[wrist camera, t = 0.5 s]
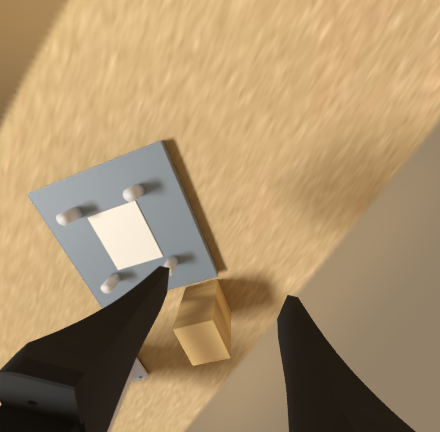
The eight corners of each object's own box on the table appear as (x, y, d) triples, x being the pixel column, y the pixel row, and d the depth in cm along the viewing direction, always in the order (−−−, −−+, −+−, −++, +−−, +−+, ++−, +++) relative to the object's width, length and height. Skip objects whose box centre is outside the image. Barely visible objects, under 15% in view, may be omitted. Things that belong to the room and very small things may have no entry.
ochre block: (201, 318, 27) (192, 365, 21) (185, 287, 26) (172, 329, 20) (231, 311, 26) (230, 358, 21) (217, 278, 25) (212, 319, 19)
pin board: (106, 301, 27) (91, 321, 24) (35, 191, 22) (6, 199, 20) (218, 271, 24) (216, 288, 22) (163, 140, 20) (152, 140, 17)
